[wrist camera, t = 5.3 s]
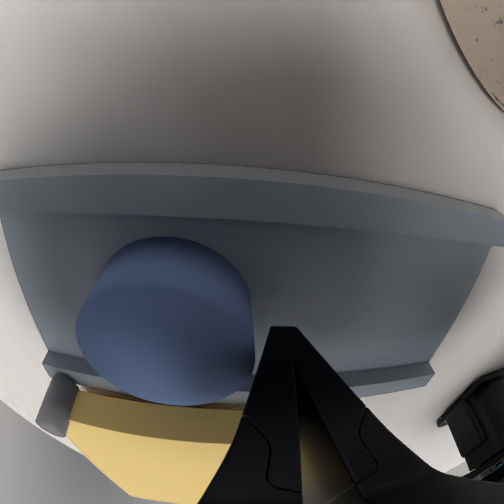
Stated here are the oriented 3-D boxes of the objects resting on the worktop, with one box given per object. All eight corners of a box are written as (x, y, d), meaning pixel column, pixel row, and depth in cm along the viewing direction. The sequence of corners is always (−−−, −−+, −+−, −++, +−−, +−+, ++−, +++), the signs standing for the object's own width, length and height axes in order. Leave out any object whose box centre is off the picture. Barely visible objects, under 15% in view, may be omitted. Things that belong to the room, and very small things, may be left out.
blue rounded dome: (256, 238, 8) (263, 287, 6) (246, 358, 11) (250, 407, 9) (85, 235, 8) (51, 278, 6) (118, 351, 10) (104, 396, 8)
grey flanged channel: (496, 210, 8) (515, 223, 7) (417, 368, 13) (425, 385, 12) (-1, 170, 7) (-23, 182, 6) (58, 358, 11) (50, 377, 10)
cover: (236, 490, 19) (237, 513, 17) (130, 479, 18) (128, 502, 16) (261, 399, 10) (266, 453, 8) (48, 372, 10) (30, 415, 8)
